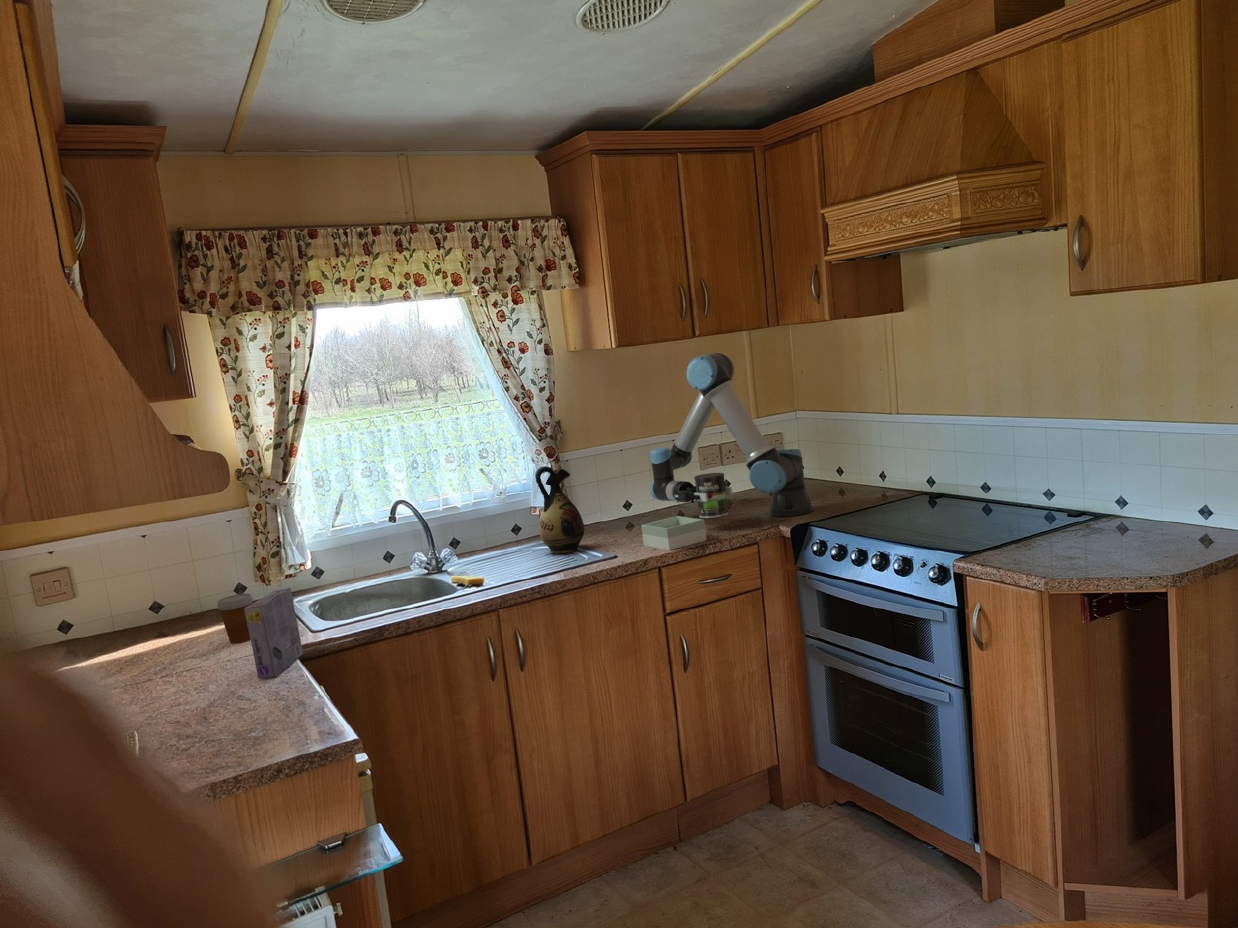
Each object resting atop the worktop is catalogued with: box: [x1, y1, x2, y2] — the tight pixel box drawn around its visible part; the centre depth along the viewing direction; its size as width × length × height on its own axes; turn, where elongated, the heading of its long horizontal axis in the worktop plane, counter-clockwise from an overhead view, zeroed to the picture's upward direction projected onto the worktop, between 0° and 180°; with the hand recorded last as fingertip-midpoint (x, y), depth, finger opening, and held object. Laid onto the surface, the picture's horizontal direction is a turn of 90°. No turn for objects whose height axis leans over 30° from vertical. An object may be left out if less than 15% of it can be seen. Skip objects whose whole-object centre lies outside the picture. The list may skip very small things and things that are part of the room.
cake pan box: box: [244, 587, 304, 680], centre depth 231 cm, size 19×5×18 cm, turn 178°
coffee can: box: [693, 472, 730, 519], centre depth 327 cm, size 10×10×14 cm
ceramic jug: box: [534, 465, 585, 554], centre depth 324 cm, size 17×15×30 cm
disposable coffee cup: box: [216, 593, 254, 644], centre depth 262 cm, size 10×10×12 cm
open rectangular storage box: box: [640, 515, 707, 551], centre depth 315 cm, size 15×15×7 cm
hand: (719, 494), depth 323 cm, fingers closed on coffee can, 10 cm apart
